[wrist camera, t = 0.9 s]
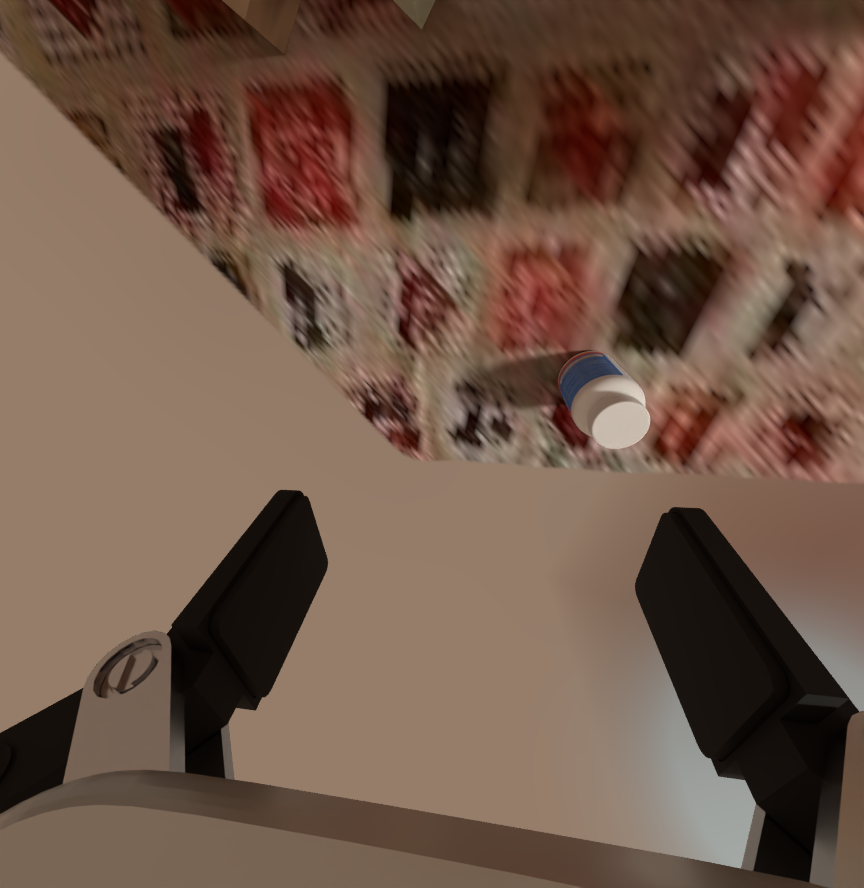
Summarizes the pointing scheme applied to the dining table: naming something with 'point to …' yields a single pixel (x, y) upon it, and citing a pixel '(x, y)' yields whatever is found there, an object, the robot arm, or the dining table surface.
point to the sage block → (416, 9)
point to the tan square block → (269, 18)
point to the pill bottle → (603, 400)
